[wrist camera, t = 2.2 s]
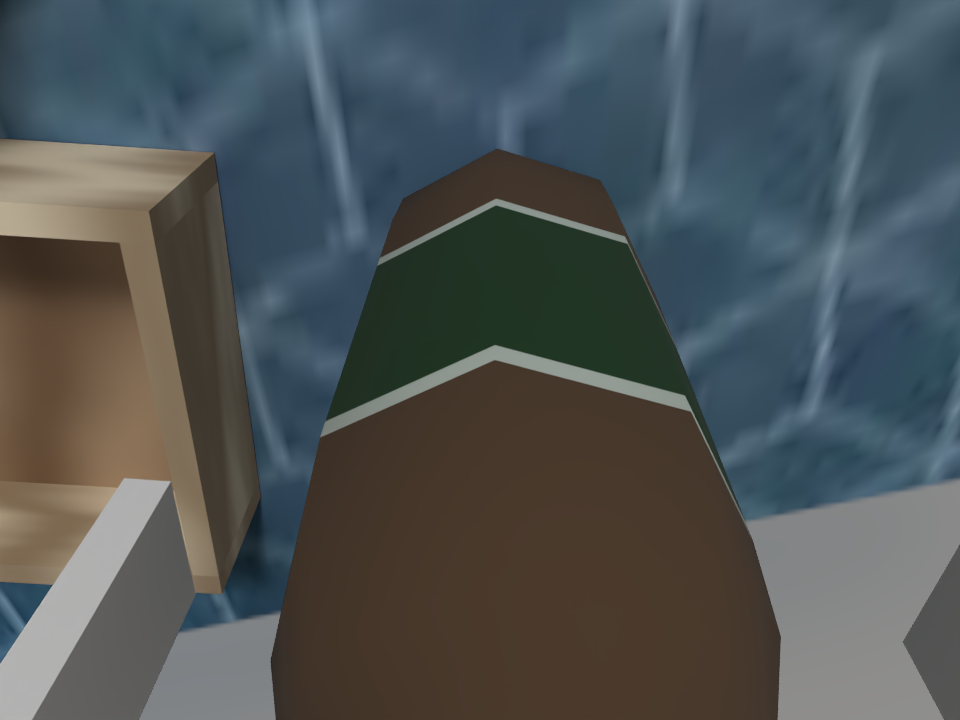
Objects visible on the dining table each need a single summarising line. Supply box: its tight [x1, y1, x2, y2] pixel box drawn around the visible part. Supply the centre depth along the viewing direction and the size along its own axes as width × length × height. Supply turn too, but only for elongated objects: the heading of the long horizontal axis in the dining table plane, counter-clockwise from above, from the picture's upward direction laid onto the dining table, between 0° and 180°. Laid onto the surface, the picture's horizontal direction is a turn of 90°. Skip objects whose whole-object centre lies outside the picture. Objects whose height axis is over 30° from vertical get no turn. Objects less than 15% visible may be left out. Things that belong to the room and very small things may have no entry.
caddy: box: [0, 139, 261, 594], centre depth 21 cm, size 13×13×4 cm
